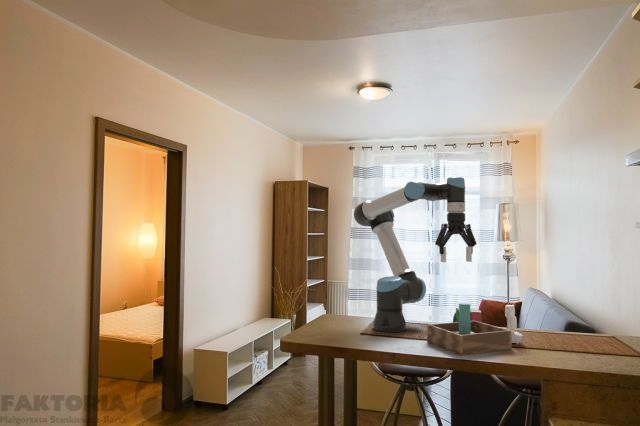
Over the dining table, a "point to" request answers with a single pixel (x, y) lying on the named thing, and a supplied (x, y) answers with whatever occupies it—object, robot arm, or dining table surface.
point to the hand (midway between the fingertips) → (456, 261)
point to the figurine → (512, 323)
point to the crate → (469, 338)
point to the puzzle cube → (471, 315)
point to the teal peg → (464, 319)
